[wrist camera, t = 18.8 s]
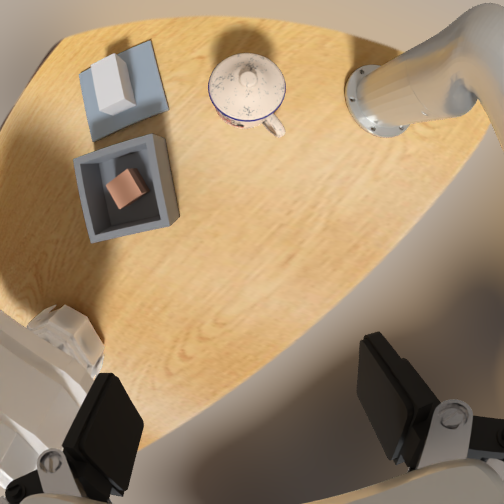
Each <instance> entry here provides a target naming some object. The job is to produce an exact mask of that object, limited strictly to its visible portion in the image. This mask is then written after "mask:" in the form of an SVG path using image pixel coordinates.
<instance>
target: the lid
mask: <svg viewBox="0 0 504 504" xmlns="http://www.w3.org/2000/svg"><path fill="white" fill-rule="evenodd" d="M79 78H80V84H81V90H82V95H83V100H84V105H85V110H86V115H87V120H88V124H89V129H90V133H91V137H92V141H93V142H96V141H98V140H100V139H102V138H104V137H106V136H108V135H110V134H112V133H114V132H117V131H119V130H121V129H123V128H126V127H128V126H130V125H132V124H135V123H137V122H140V121H142V120H144V119H147V118H149V117H152V116H155V115H157V114H160V113H162V112H165V111H168V110H169V107H168V104H167V100H166V96H165V93H164V89H163V85H162V82H161V78H160V74H159V70H158V66H157V63H156V59H155V55H154V51H153V47H152V43H151V41H147V42H145V43H142V44H140V45H137V46H135V47H133V48H130V49H128V50H126V51H123V52H121V53H119V54H115V53H114V54H111V55H109V56H107V57H105V58H103V59H101V60H99V61H97V62H96V63H94V64H92V65H91V68H89V69H87V70H86V71H84V72H82V73H80V74H79Z"/></svg>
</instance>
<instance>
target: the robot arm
mask: <svg viewBox="0 0 504 504" xmlns="http://www.w3.org/2000/svg"><path fill="white" fill-rule="evenodd" d="M345 98H346V104H347V107H348V110H349V111H350V113H351V115H352V117H353V118H354V120H355V121H356V122H357V124H358V125H359V126H360V127H361V128H363V129H364V130H365V131H367V132H368V133H370V134H372V135H374V136H378V137H384V138H389V137H395V136H398V135H400V134H402V133H403V132H404V131H405V130H406V129H407V128H408V127H409V125H410V124H414V123H420V122H427V121H433V120H441V119H448V118H455V117H460V116H462V115H464V114H466V113H467V112H469V111H470V110H471V109H472V107H473V106H474V105H475V103H476V101H477V99H479V101H480V103H481V104H482V106H483V108H484V110H485V112H486V113H487V115H488V117H489V120H490V122H491V124H492V126H493V128H494V130H495V133H496V135H497V137H498V140H499V142H500V145H501V147H502V149H503V152H504V7H503V6H501V5H498V4H493V3H484V4H480V5H477V6H475V7H472V8H471V9H469V10H468V11H466V12H465V13H463V14H462V15H461V16H460V17H458V18H457V19H456V20H455V21H454V22H452V23H451V24H450V25H449V26H448V27H446V28H445V29H444V30H442V31H441V32H439V33H438V34H437V35H435V36H433V37H431V38H430V39H428V40H426V41H425V42H423V43H421V44H419V45H417V46H415V47H414V48H412V49H410V50H408V51H406V52H404V53H403V54H401V55H399V56H397V57H396V58H394V59H392V60H390V61H389V62H387V63H385V64H384V65H382V66H379V65H366V66H362V67H360V68H358V69H357V70H355V71H354V72H353V73H352V74H351V75H350V77H349V79H348V81H347V83H346V87H345ZM350 99H351V100H352V102H351V101H350ZM371 128H372V130H371ZM357 395H358V398H359V400H360V402H361V404H362V406H363V408H364V410H365V412H366V414H367V416H368V418H369V420H370V422H371V424H372V427H373V429H374V431H375V433H376V435H377V437H378V439H379V441H380V443H381V445H382V447H383V449H384V452H385V454H386V456H387V458H388V459H389V460H394V462H395V464H396V465H398V464H400V463H403V462H405V463H406V465H407V467H409V469H408V472H407V473H405V474H403V475H400V476H397V477H395V478H392V479H389V480H386V481H383V482H381V483H378V484H375V485H372V486H369V487H366V488H362V489H360V490H356V491H352V492H349V493H345V494H342V495H338V496H334V497H331V498H327V499H323V500H318V501H314V502H309V503H304V504H504V419H495V418H487V417H479V416H473V413H472V410H471V408H470V407H469V405H468V404H466V403H465V402H463V401H460V400H447V401H444V402H442V403H440V401H439V400H438V399H437V397H436V396H435V395H434V393H433V392H432V391H431V390H430V388H429V387H428V385H427V384H426V383H425V382H424V380H423V379H422V378H421V377H420V375H419V374H418V373H417V371H416V370H415V369H414V368H413V366H412V365H411V364H410V363H409V361H408V360H407V359H405V358H402V359H401V358H400V356H399V355H398V354H397V353H396V351H395V350H394V349H393V348H392V346H391V345H390V344H389V342H388V341H387V340H386V339H385V338H384V336H383V335H382V334H381V333H380V332H375V333H371V334H368V335H365V336H364V340H361V341H360V348H359V367H358V380H357ZM143 427H144V423H143V420H142V418H141V416H140V415H139V413H138V411H137V410H136V408H135V406H134V405H133V403H132V401H131V400H130V398H129V396H128V394H127V393H126V391H125V389H124V387H123V385H122V383H121V382H120V380H119V378H118V377H117V376H115V375H114V374H113V373H99V374H98V375H97V377H96V379H95V381H94V382H93V384H92V386H91V388H90V390H89V392H88V394H87V395H86V397H85V399H84V401H83V403H82V405H81V407H80V409H79V411H78V413H77V415H76V417H75V419H74V421H73V423H72V425H71V427H70V429H69V431H68V433H67V435H66V437H65V439H64V441H63V443H62V445H61V446H62V447H63V448H64V449H63V451H61V450H59V449H56V448H51V449H47V450H45V451H44V452H42V453H41V454H40V456H39V457H38V459H37V469H36V470H34V471H32V472H30V473H28V474H26V475H24V476H21V477H19V478H17V479H15V480H13V481H11V482H10V483H9V484H8V485H7V487H6V492H5V495H6V497H4V496H2V497H0V504H112V502H111V500H110V499H109V497H110V494H111V495H116V496H122V497H123V494H124V491H126V490H127V489H128V486H129V482H130V478H131V474H132V470H133V465H134V461H135V457H136V454H137V450H138V446H139V442H140V439H141V435H142V431H143Z"/></svg>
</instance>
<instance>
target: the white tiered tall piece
mask: <svg viewBox="0 0 504 504" xmlns="http://www.w3.org/2000/svg"><path fill="white" fill-rule="evenodd" d="M56 306H57V304H56ZM56 306H55V305H53V306H51V307H48V308H46V309H44V310H43V311H42V312H41V313H39V314H38V315H37V316H36V317H34V318H33V319H32V320H31V321H30V322H29V323H28V325H27V328H25V327H24V326H22V325H21V324H19V323H18V322H16V321H15V320H14V319H12V318H11V317H10V316H8V315H7V314H6V313H4V312H3V311H2V310H0V486H1V487H3V488H4V489H6V487H7V485H8V484H9V483H10V482H11V481H13V480H15V479H17V478H19V477H21V476H24V475H26V474H28V473H30V472H32V471H34V470H36V469H37V459H38V457H39V456H40V454H41V453H42V452H44V451H45V450H47V449H51V448H56V449H59V450H61V451H63V449H64V448H63V447H62V446H61V445H62V443H63V441H64V439H65V437H66V435H67V433H68V431H69V429H70V427H71V425H72V423H73V421H74V419H75V417H76V415H77V413H78V411H79V409H80V407H81V405H82V403H83V401H84V399H85V397H86V395H87V394H88V392H89V390H90V388H91V386H92V384H93V382H94V380H93V378H94V376H95V375H96V376H95V379H96V377H97V375H98V374H99V372H100V370H101V368H102V365H103V360H104V355H105V354H103V351H104V348H105V346H104V344H103V343H102V341H101V340H100V338H99V336H98V335H97V333H96V331H95V330H94V328H93V326H92V325H91V323H90V321H89V319H88V317H87V316H85V315H83V314H82V313H80V312H78V311H76V310H74V309H73V308H71V307H69V306H67V305H64V306H63V307H62V308H60V309H57V310H55V311H52V312H50V311H51V310H52V309H53V308H54V307H56ZM49 312H50V313H49ZM102 355H103V356H102Z"/></svg>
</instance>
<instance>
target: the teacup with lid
mask: <svg viewBox="0 0 504 504" xmlns="http://www.w3.org/2000/svg"><path fill="white" fill-rule="evenodd" d="M208 91H209V96H210V99H211V101H212V103H213V105H214V106H215V108H216V111H217V113H218V115H219V116H220V118H221V119H222V120H223V121H224V122H225V123H227V124H229V125H230V126H233V127H236V128H241V129H248V128H254V127H257V126H259V125H261V124H263V125H264V126H265V128H266V129H267V130H268V131H269V132H270V133H271V134H273V135H274V136H276V137H278V138H279V137H282V136H283V135H284V134H285V128H284V126H283V125H282V123H281V122H280V120H279V119H278V118H277V116H276V115H275V114H274V112H275V111H276V110H277V109H278V108H279V106H280V105H281V103H282V101H283V99H284V96H285V91H286V84H285V79H284V76H283V74H282V72H281V71H280V69H279V68H278V67H277V65H276V64H275V63H273V62H272V61H271V60H269V59H268V58H266V57H264V56H261V55H258V54H253V53H240V54H236V55H232V56H230V57H228V58H226V59H224V60H223V61H222V62H220V63H219V64H218V65H217V66H216V67H215V69H214V70H213V72H212V74H211V76H210V79H209V83H208Z"/></svg>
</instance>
